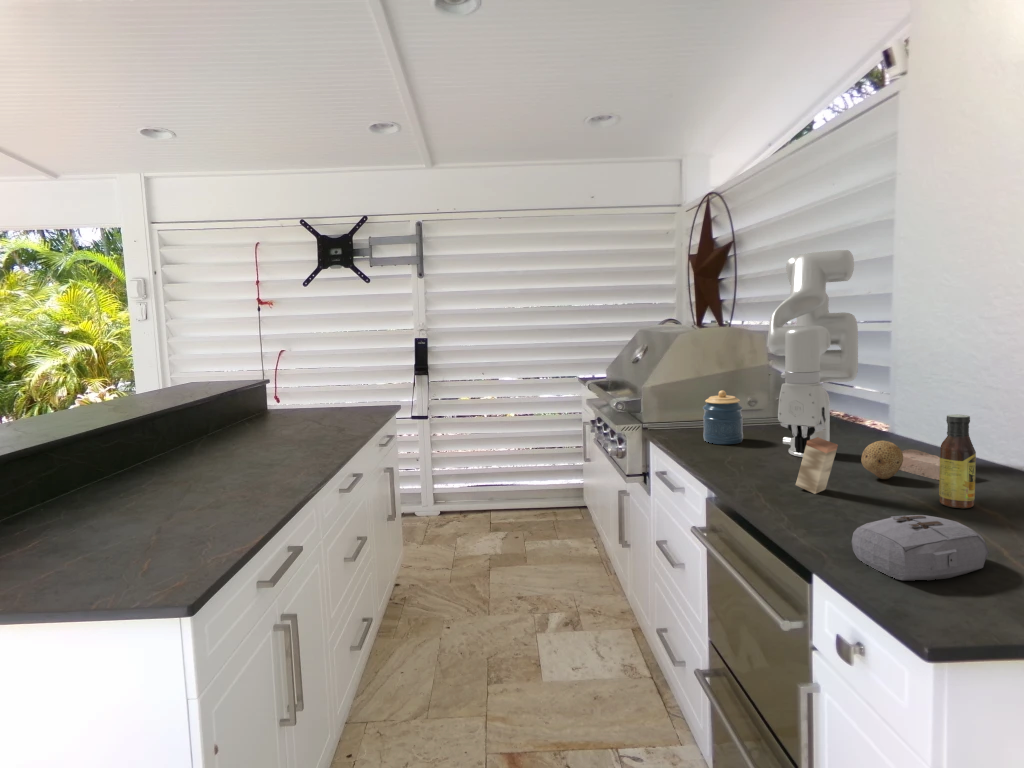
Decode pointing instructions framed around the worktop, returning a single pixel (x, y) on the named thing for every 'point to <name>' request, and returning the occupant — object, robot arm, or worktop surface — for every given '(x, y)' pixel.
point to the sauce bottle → (957, 464)
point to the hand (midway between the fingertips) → (802, 451)
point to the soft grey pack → (919, 547)
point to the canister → (723, 419)
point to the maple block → (816, 465)
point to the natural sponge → (882, 459)
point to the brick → (921, 463)
